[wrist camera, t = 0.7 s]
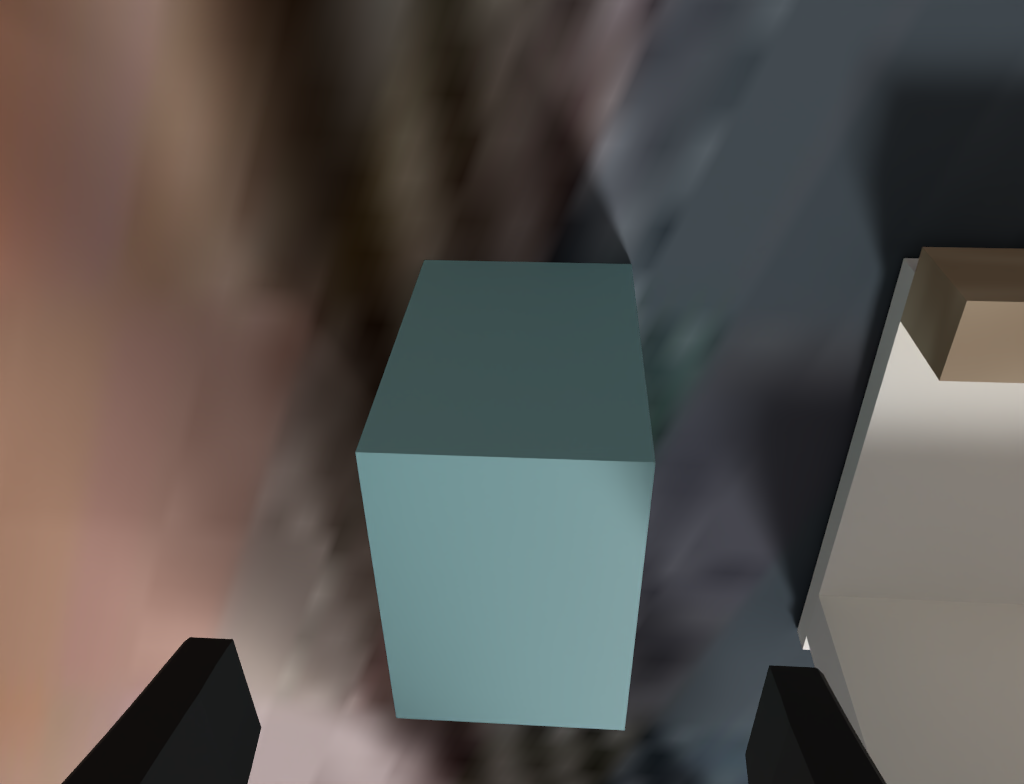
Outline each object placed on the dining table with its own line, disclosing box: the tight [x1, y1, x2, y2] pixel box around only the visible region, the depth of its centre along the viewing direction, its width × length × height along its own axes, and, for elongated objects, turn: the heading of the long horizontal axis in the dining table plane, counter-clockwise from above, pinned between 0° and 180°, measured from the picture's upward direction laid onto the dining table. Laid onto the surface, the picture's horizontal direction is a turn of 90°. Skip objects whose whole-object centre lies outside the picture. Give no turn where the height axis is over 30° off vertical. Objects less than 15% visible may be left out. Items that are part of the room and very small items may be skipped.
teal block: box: [355, 260, 655, 730], centre depth 15 cm, size 6×4×6 cm, turn 1°
